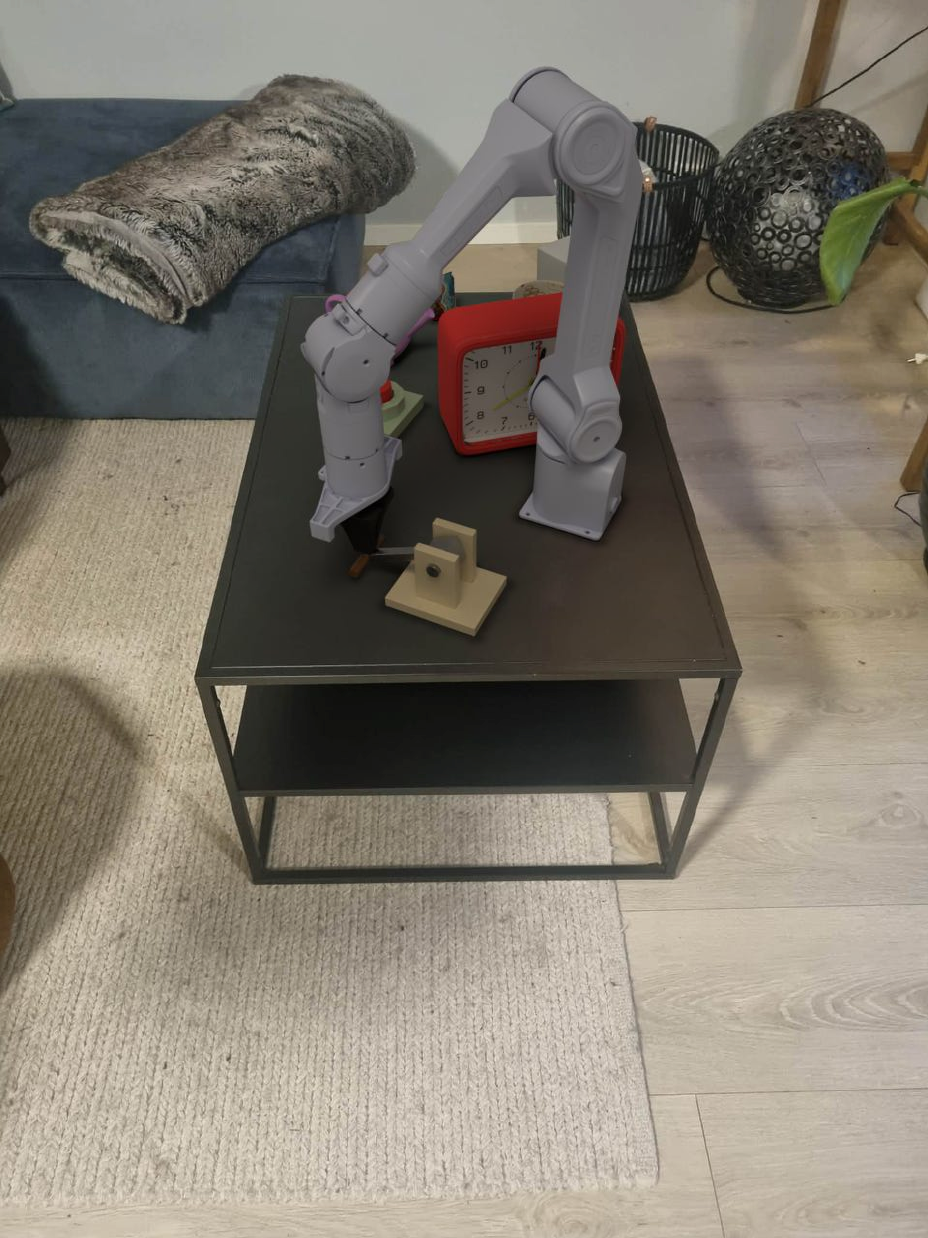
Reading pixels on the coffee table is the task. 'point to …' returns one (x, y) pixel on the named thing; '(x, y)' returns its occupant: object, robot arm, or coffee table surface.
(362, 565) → the lever
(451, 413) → the alarm clock
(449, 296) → the multicoloured jagged piece
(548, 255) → the cosmetics box
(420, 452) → the coffee table surface
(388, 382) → the button
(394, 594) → the bracket
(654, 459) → the coffee table surface
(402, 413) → the button box
